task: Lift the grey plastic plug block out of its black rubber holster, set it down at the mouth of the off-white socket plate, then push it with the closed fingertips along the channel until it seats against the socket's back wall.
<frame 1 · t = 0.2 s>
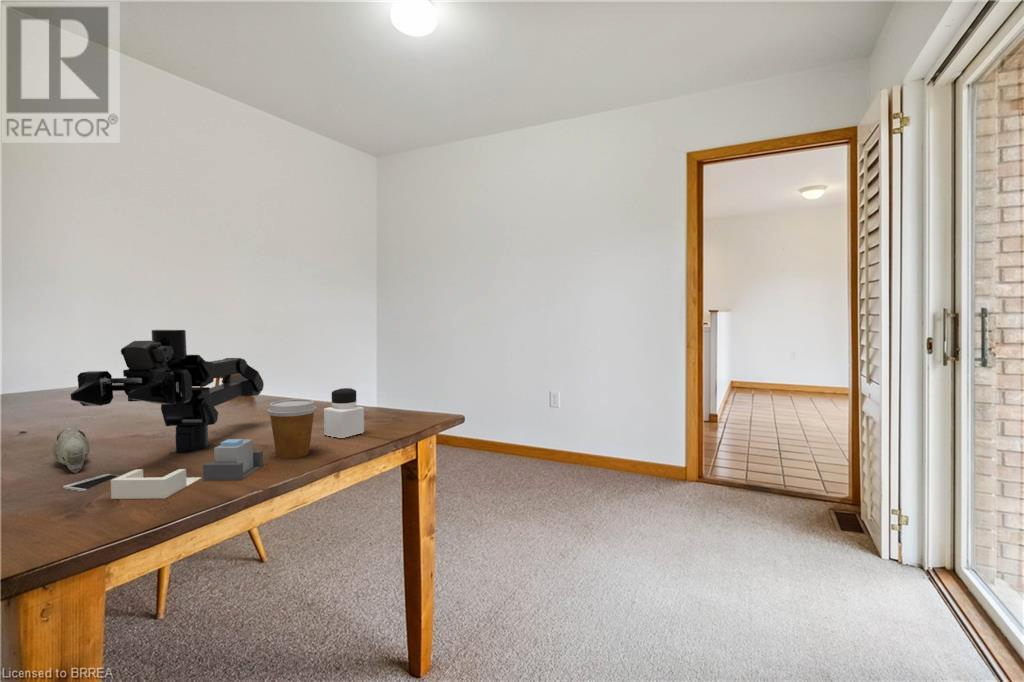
hand: (100, 396, 80), 17 cm above the table, tool horizontal, fingers open, 9 cm apart
holster: (234, 476, 90), on the table
plug: (234, 472, 90), point 1 cm above the table, touching holster
decorative bird: (72, 466, 97), on the table
disposable coffee cup: (292, 458, 103), on the table
medicine bottle: (344, 435, 123), on the table
smartphone: (115, 489, 84), on the table
port: (159, 491, 82), on the table
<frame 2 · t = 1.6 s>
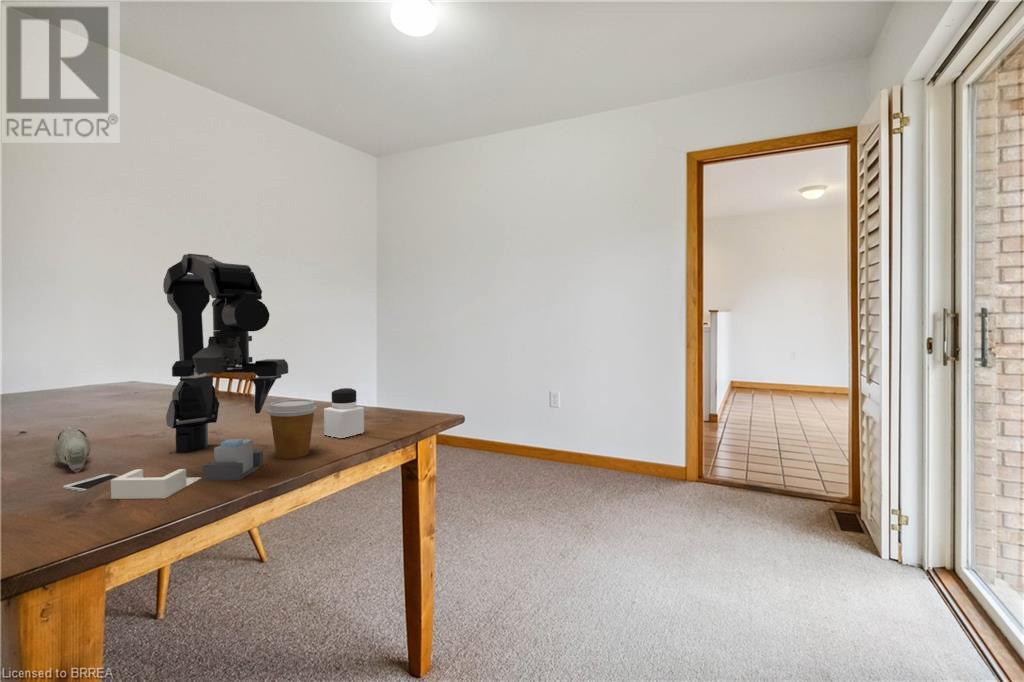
hand: (232, 413, 90), 12 cm above the table, tool pointing down, fingers open, 9 cm apart
nothing on the table moved.
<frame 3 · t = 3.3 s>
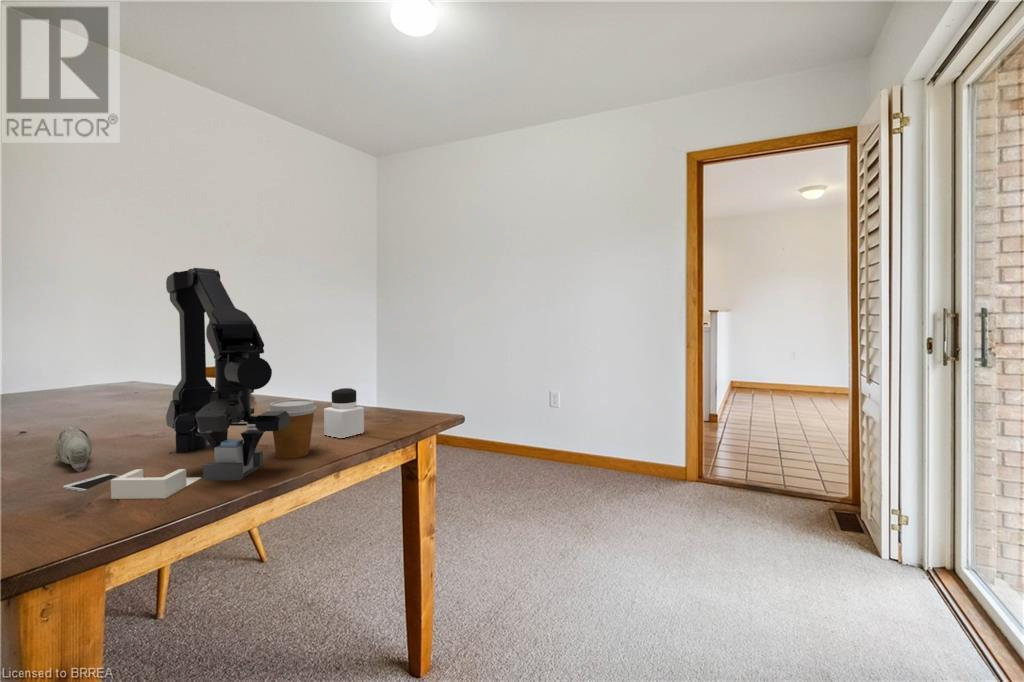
hand: (234, 465, 90), 2 cm above the table, tool pointing down, fingers closed on plug, 4 cm apart
plug: (234, 472, 90), point 1 cm above the table, touching gripper, holster
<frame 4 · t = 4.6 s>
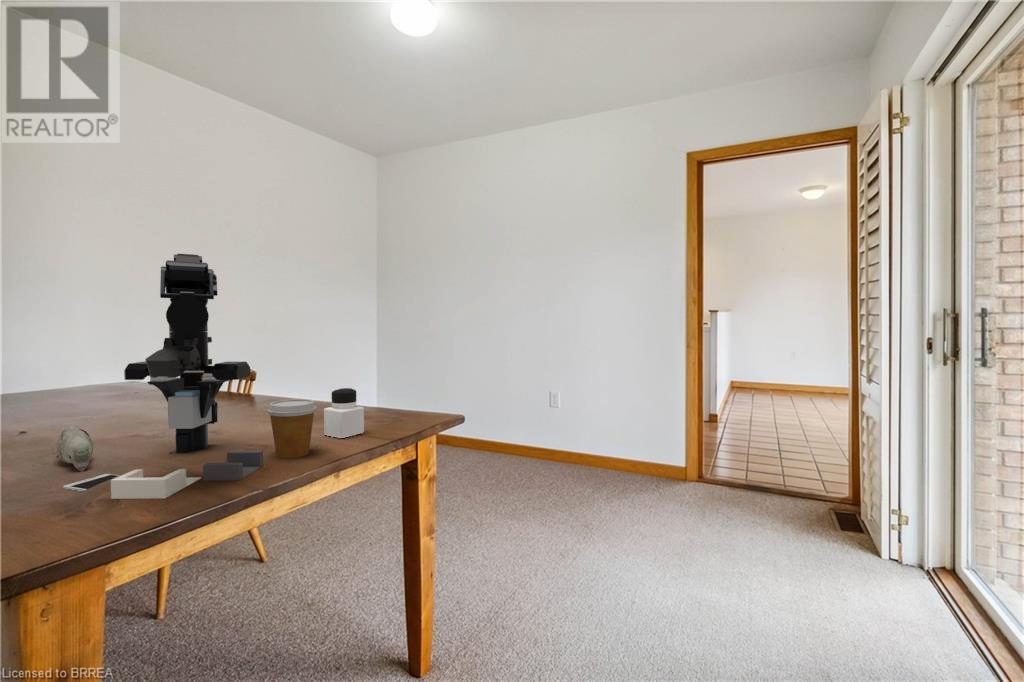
hand: (190, 418, 86), 12 cm above the table, tool pointing down, fingers closed on plug, 4 cm apart
plug: (191, 424, 86), point 11 cm above the table, touching gripper
when the fingers open (3 cm above the table, at t = 6.1 s): plug drops 1 cm, resting on port.
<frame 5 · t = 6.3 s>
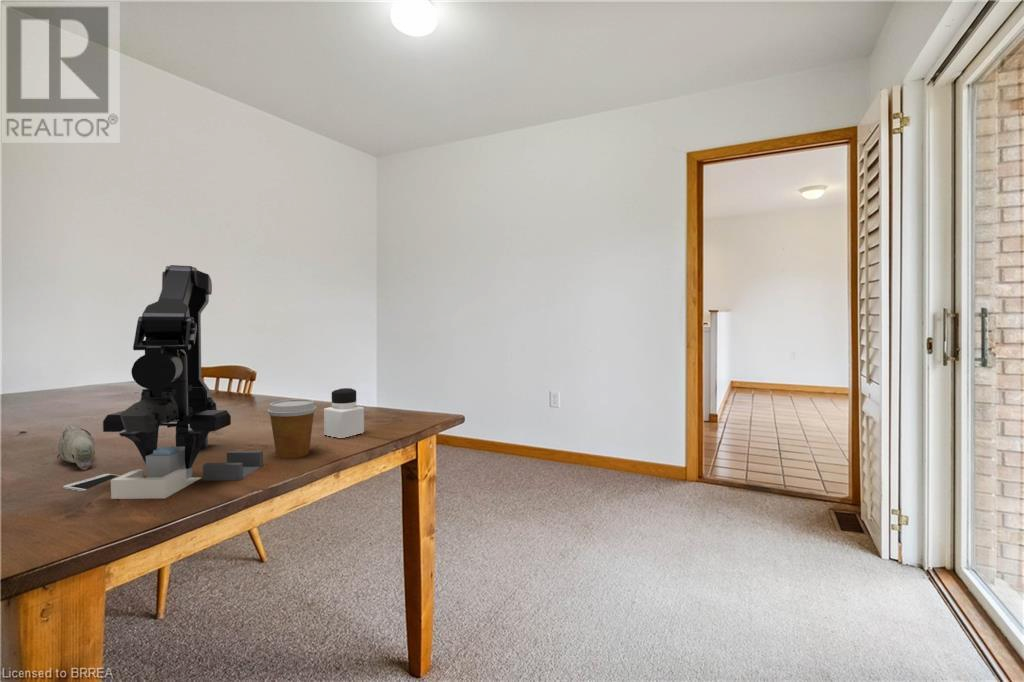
hand: (170, 468, 85), 3 cm above the table, tool pointing down, fingers open, 6 cm apart
plug: (170, 481, 85), point 1 cm above the table, touching port
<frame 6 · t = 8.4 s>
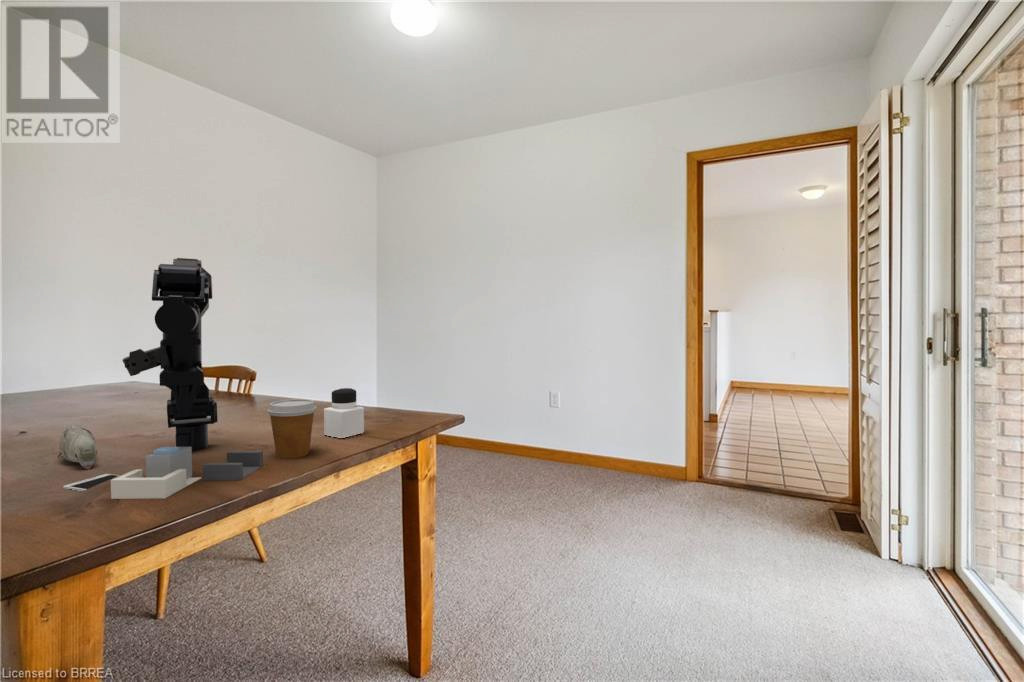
hand: (183, 416, 89), 12 cm above the table, tool pointing down, fingers closed
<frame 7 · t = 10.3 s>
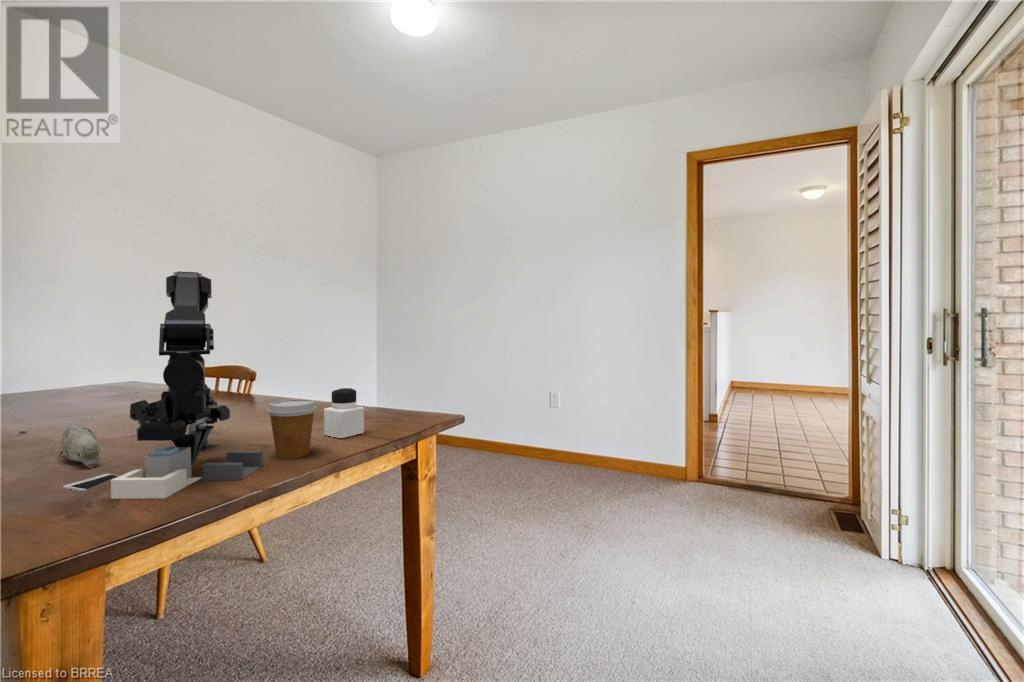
hand: (188, 466, 90), 2 cm above the table, tool pointing down, fingers closed
plug: (169, 482, 85), point 1 cm above the table, touching gripper
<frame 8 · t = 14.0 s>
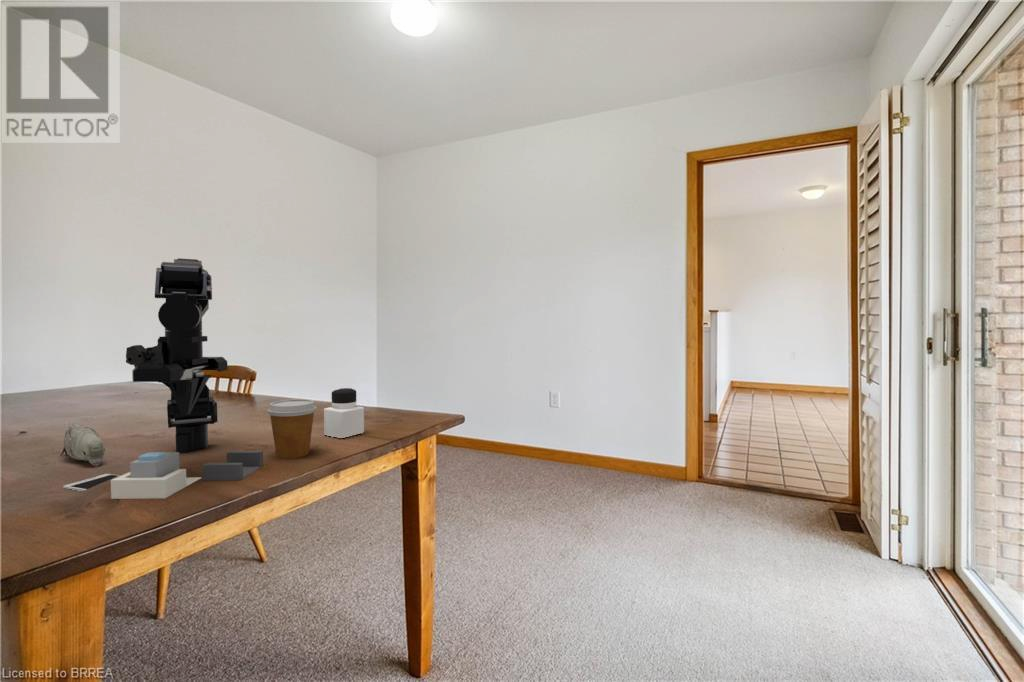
hand: (185, 414, 89), 12 cm above the table, tool pointing down, fingers closed
plug: (156, 488, 81), point 1 cm above the table, touching port
at the end: plug 0.1 cm off-centre on the port, point 0.8 cm above the port's base; plug tilted 0°; the gripper is holding nothing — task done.
